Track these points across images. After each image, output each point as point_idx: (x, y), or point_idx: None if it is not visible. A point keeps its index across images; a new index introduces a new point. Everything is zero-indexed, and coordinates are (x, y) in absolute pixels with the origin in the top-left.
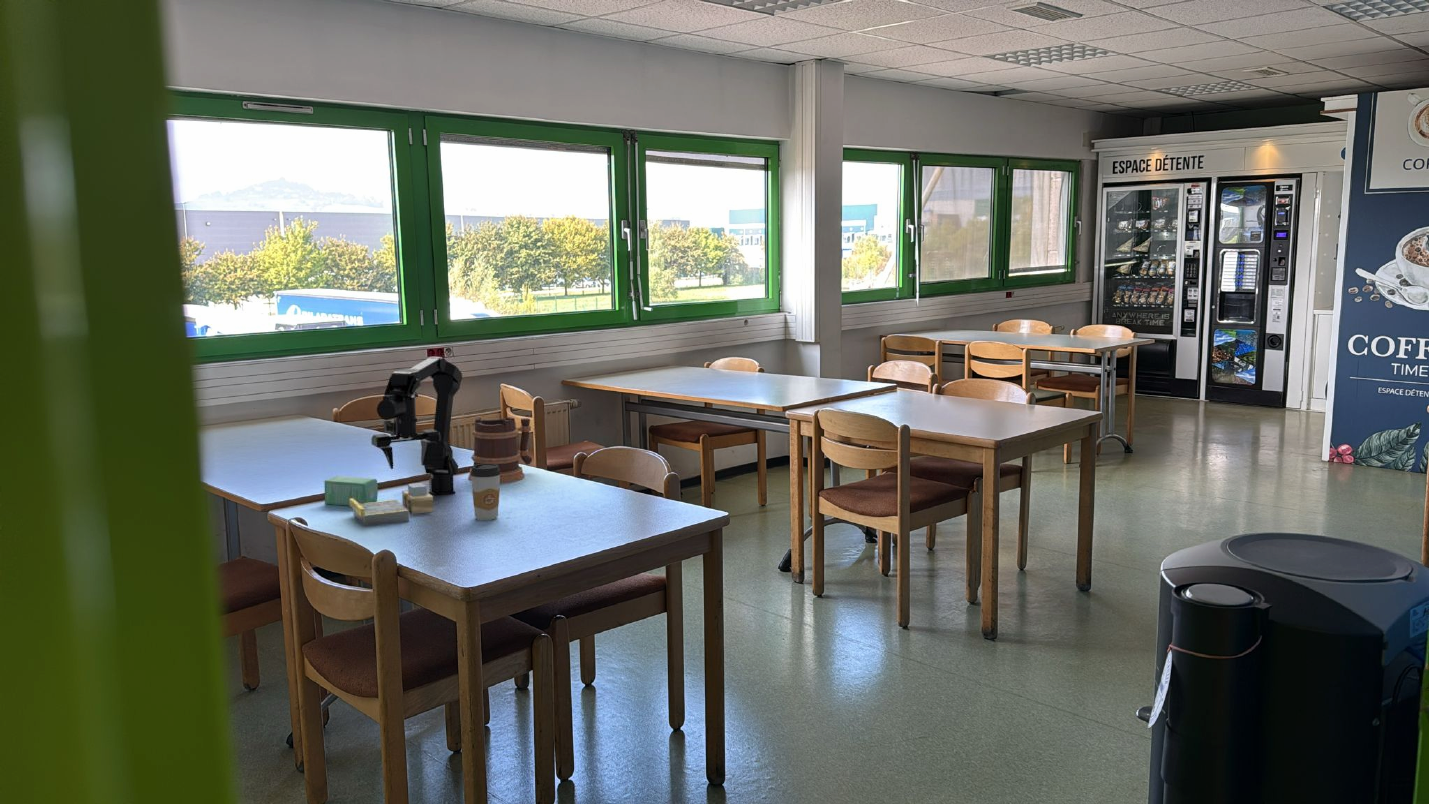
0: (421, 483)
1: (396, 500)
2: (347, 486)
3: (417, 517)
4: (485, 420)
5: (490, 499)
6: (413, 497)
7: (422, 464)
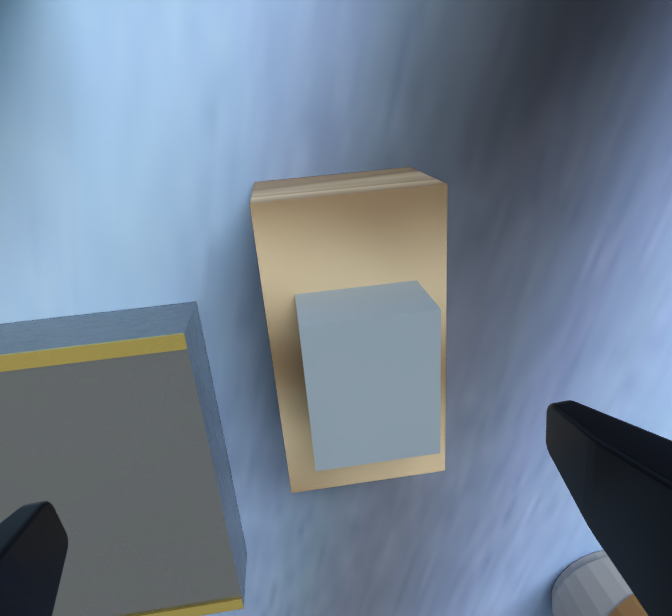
0: (431, 335)
1: (187, 348)
2: None
3: (301, 498)
4: None
5: None
6: (307, 463)
7: (553, 449)
